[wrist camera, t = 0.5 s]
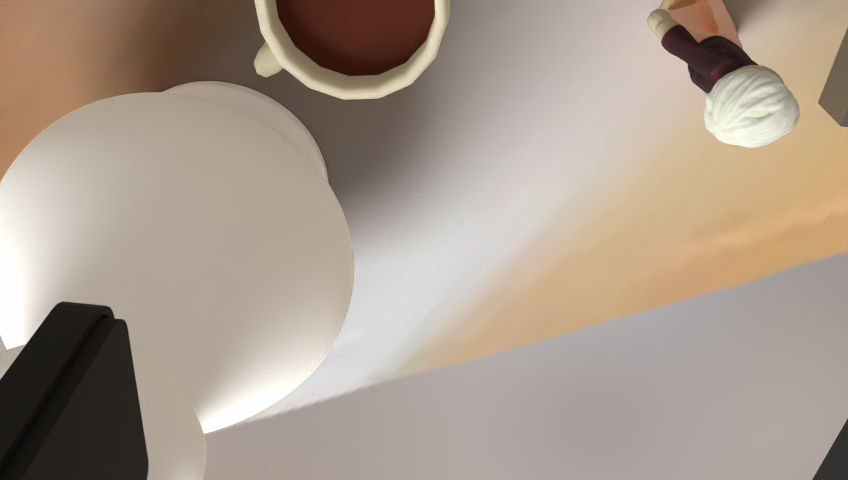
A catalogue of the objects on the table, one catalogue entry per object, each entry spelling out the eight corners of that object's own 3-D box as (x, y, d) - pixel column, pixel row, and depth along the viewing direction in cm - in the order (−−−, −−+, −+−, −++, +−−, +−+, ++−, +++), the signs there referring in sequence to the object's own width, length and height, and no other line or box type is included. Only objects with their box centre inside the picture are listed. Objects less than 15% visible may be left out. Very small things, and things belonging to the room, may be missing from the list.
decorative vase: (200, 326, 52) (26, 709, 32) (16, 118, 44) (-384, 454, 23) (423, 232, 47) (389, 618, 26) (262, -24, 39) (28, 246, 18)
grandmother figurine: (770, 15, 39) (884, 117, 28) (725, 79, 41) (816, 197, 30) (642, -48, 37) (713, 35, 27) (602, 22, 39) (653, 124, 29)
